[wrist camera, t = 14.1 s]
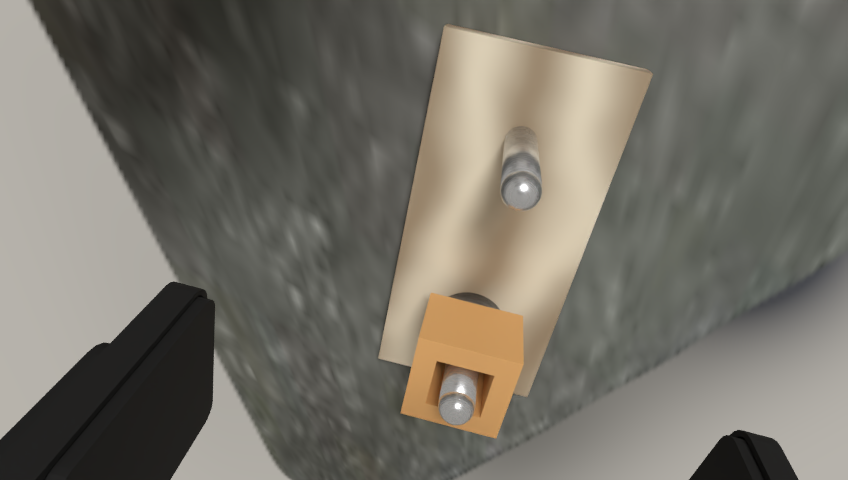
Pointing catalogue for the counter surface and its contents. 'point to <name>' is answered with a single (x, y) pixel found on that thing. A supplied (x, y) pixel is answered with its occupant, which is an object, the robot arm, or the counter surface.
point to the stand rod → (521, 170)
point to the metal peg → (460, 379)
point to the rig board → (481, 179)
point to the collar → (466, 360)
